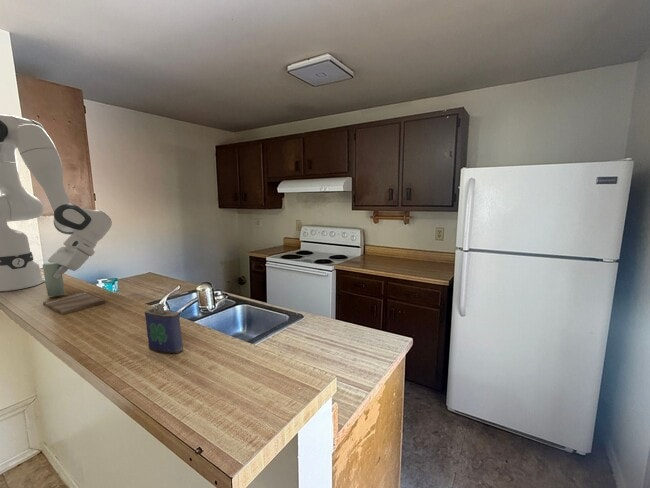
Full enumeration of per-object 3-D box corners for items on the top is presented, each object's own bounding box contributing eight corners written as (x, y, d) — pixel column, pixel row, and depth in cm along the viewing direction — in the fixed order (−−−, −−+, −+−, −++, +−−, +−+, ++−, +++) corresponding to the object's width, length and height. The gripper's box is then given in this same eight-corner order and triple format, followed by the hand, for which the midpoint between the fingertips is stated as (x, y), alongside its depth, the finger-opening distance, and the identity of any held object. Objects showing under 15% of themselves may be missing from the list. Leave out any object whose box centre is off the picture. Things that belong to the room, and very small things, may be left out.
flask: (186, 349, 74) (180, 304, 72) (175, 356, 71) (169, 309, 69) (155, 343, 78) (149, 300, 76) (144, 350, 75) (137, 304, 73)
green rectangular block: (45, 295, 117) (40, 264, 115) (62, 291, 121) (57, 261, 119) (50, 297, 114) (45, 265, 112) (67, 293, 118) (62, 262, 116)
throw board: (43, 305, 109) (42, 301, 109) (83, 294, 119) (83, 292, 119) (62, 314, 99) (62, 311, 99) (104, 302, 109) (104, 299, 109)
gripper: (60, 240, 125) (32, 268, 119) (81, 243, 115) (52, 275, 108) (75, 248, 130) (49, 277, 124) (96, 253, 119) (70, 284, 113)
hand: (51, 276), depth 116 cm, fingers closed on green rectangular block, 5 cm apart
